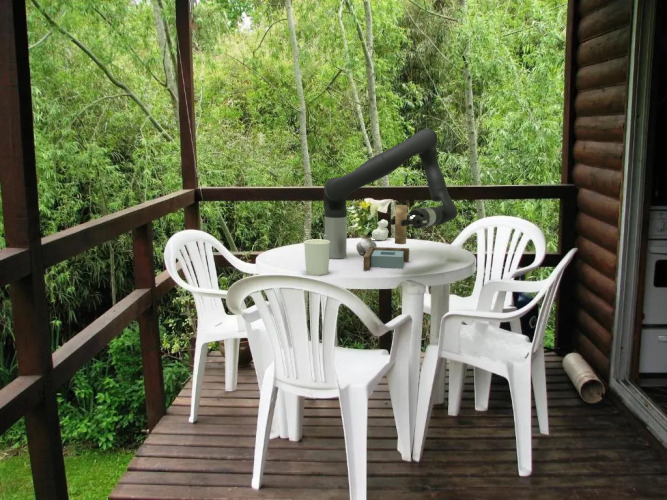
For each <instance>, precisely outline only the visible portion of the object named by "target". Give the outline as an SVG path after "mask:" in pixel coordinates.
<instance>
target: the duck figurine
mask: <svg viewBox="0 0 667 500" xmlns="http://www.w3.org/2000/svg"><path fill="white" fill-rule="evenodd" d="M376 224H377V225H378V227H377V228H375V229H374V230H373V231H372V232H371V234H372V238H373V239H375V240H376V241H385V240H387V238H388V235H389V232H390V231H389V230H388V228H387V227H388V226H389V222H388V220H387V219H384V218H383V219H381V220H380V221H378V222H377V223H376ZM375 240H374V241H375Z"/></svg>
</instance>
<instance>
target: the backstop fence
mask: <svg viewBox="0 0 667 500" xmlns="http://www.w3.org/2000/svg"><path fill="white" fill-rule="evenodd" d="M374 250H386V251H404V263H410V248H409V247H385V246H368V248H367V250H366V252H365V254H364V255H363V271H364V270H369V271H370V269H371V256H372V254H373V252H374Z"/></svg>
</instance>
